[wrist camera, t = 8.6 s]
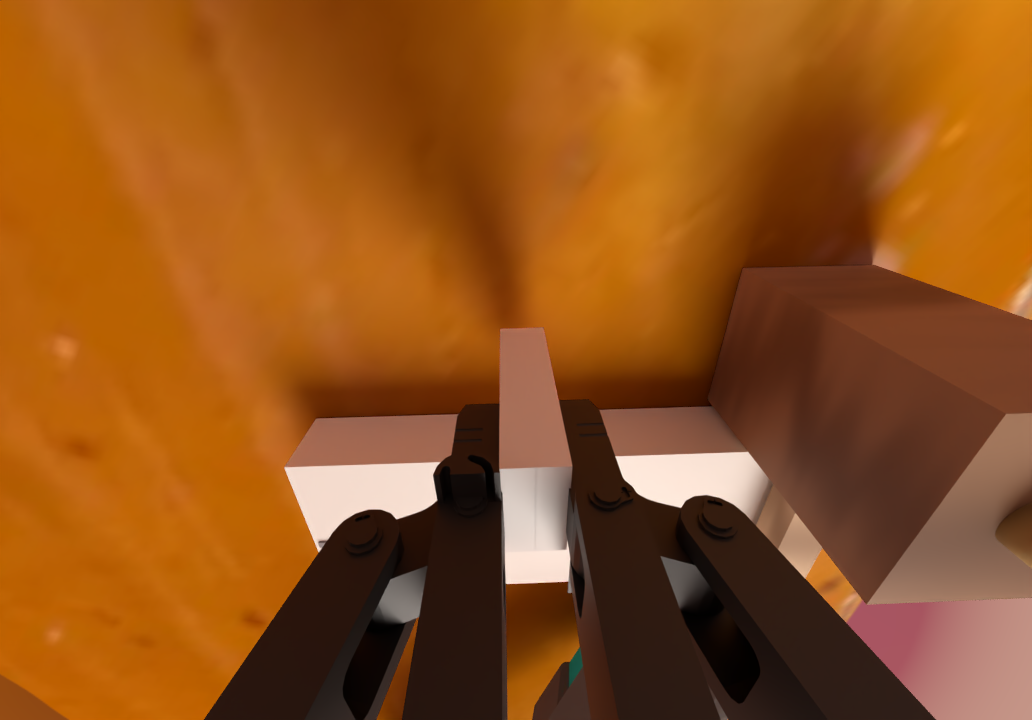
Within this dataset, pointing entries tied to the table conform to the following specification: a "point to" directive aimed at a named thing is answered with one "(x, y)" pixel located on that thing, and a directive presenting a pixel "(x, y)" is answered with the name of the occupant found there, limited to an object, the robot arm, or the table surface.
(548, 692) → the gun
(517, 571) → the board
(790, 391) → the brown wooden clamp
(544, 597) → the table surface
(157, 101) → the table surface
